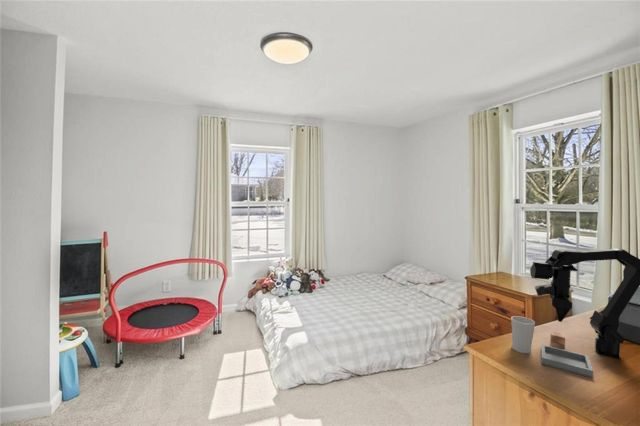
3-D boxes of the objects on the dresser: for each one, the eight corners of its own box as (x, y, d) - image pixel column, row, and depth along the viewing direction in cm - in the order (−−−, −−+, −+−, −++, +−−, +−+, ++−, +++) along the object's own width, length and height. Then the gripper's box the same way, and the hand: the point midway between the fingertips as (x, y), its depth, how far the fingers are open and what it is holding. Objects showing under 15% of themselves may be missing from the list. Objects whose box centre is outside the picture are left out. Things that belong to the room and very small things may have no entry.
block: (563, 345, 126) (564, 334, 126) (564, 350, 123) (565, 337, 122) (550, 342, 129) (550, 331, 129) (550, 346, 125) (551, 334, 125)
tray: (587, 361, 113) (587, 355, 113) (592, 378, 103) (593, 370, 103) (541, 350, 121) (541, 344, 121) (541, 364, 111) (542, 357, 111)
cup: (537, 355, 117) (539, 325, 117) (514, 352, 119) (516, 322, 118) (527, 345, 125) (529, 317, 125) (506, 343, 127) (507, 315, 126)
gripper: (536, 273, 137) (534, 307, 137) (537, 281, 121) (535, 320, 122) (568, 277, 130) (566, 313, 131) (573, 287, 115) (571, 327, 116)
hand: (559, 317), depth 125 cm, fingers open, 9 cm apart
